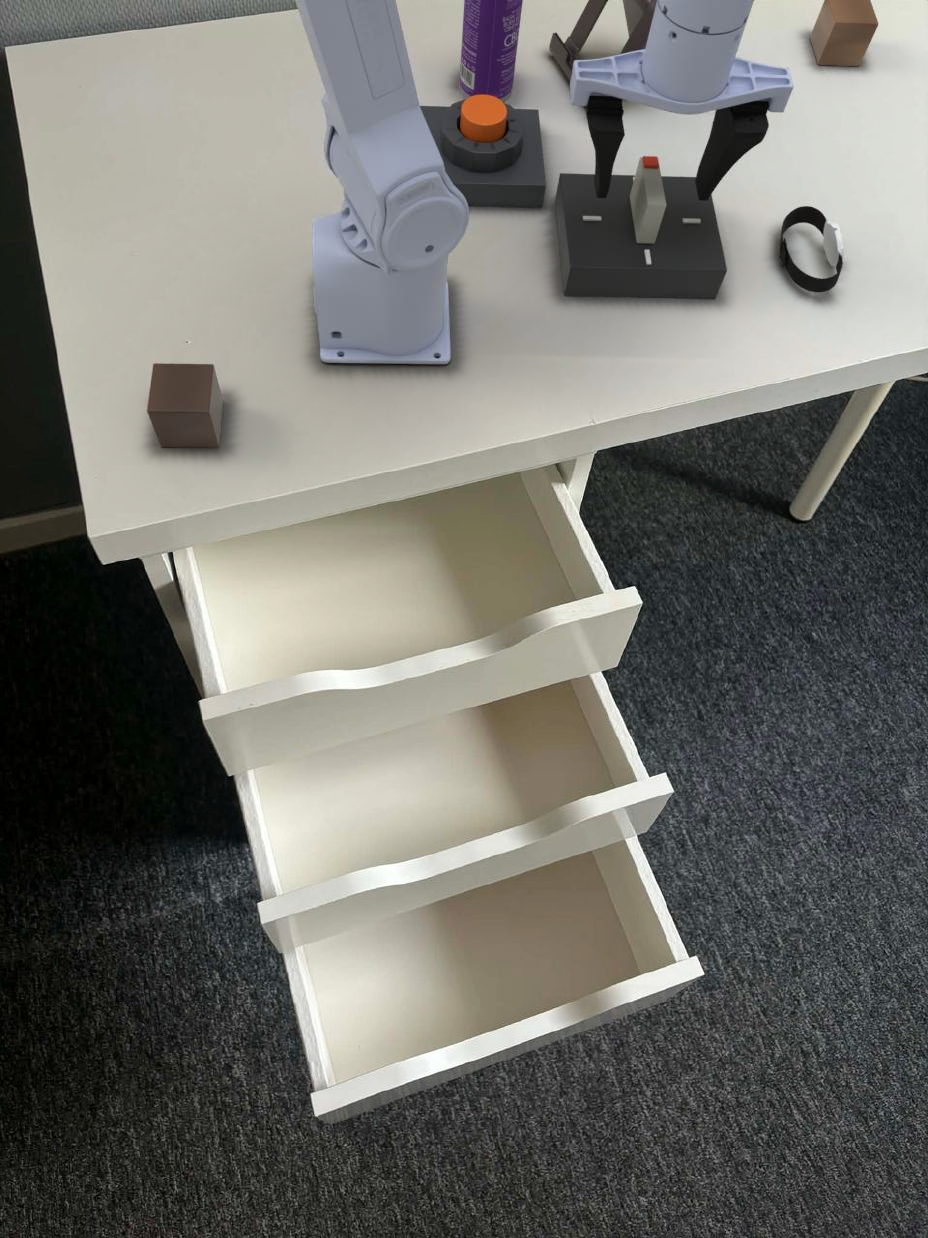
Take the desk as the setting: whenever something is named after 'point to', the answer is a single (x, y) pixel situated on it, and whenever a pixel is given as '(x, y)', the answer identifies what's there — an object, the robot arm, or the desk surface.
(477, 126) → the power button
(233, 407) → the desk surface
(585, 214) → the panel
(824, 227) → the watch
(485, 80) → the container
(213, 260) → the desk surface
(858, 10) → the cork block
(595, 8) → the tablet stand
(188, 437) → the walnut block
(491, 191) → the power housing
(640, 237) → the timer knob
